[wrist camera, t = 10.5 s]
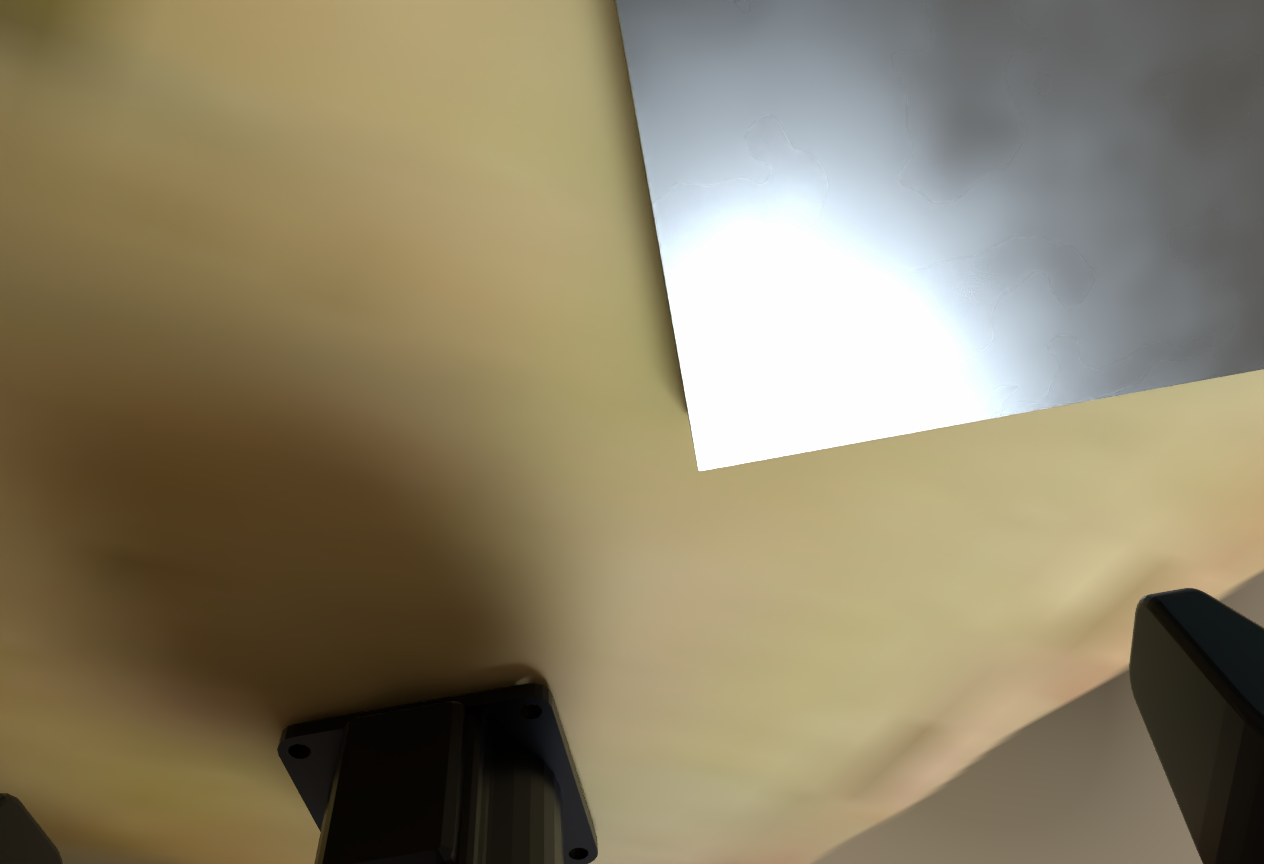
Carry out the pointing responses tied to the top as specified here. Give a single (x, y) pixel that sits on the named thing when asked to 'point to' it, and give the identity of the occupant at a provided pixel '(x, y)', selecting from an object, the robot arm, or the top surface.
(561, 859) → the robot arm
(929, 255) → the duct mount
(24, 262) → the top surface
